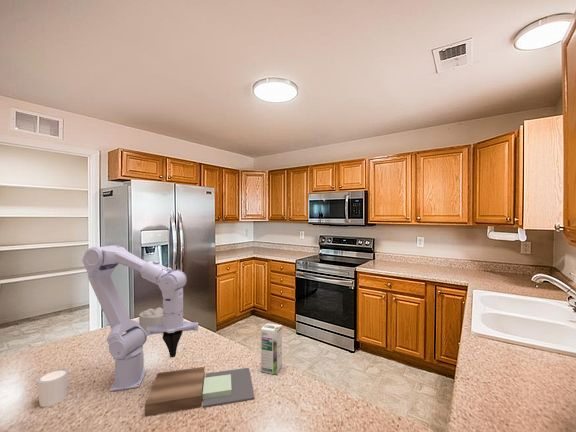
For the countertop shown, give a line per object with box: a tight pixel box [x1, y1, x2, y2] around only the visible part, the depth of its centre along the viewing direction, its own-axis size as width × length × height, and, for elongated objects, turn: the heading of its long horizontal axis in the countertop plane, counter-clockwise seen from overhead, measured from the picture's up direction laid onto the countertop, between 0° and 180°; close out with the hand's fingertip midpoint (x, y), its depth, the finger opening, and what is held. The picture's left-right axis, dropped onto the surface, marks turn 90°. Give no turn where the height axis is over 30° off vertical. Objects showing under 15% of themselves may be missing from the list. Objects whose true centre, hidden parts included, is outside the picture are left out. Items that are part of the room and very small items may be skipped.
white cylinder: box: [36, 368, 70, 408], centre depth 76 cm, size 7×7×7 cm
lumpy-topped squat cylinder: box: [138, 307, 163, 331], centre depth 127 cm, size 10×13×9 cm
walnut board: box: [144, 366, 205, 417], centre depth 79 cm, size 15×14×3 cm
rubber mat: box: [202, 367, 256, 409], centre depth 82 cm, size 16×14×1 cm
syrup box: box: [260, 323, 283, 376], centre depth 92 cm, size 6×6×14 cm
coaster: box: [202, 374, 232, 400], centre depth 80 cm, size 8×8×2 cm
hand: (173, 355), depth 82 cm, fingers closed
